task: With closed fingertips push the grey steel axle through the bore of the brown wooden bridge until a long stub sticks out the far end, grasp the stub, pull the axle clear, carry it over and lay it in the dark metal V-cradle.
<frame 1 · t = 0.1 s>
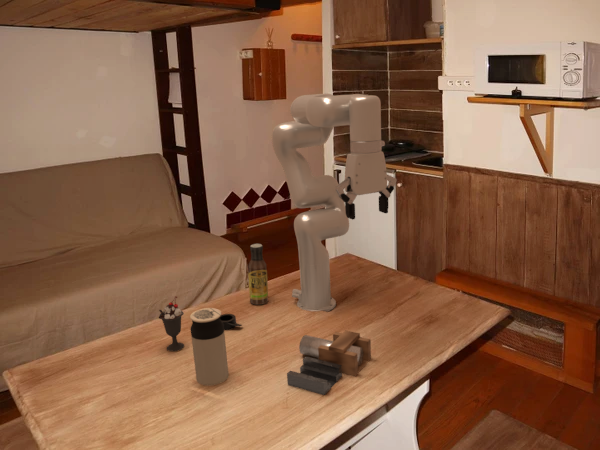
hand: (367, 215, 136), 37 cm above the table, fingers open, 9 cm apart
axle: (331, 359, 139), point 1 cm above the table, touching brown wooden bridge
sauce bottle: (259, 302, 180), on the table
travel mug: (213, 380, 135), on the table
v block: (315, 384, 130), on the table
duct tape: (227, 327, 164), on the table
brown wooden bridge: (345, 366, 137), on the table
sundae: (175, 347, 153), on the table
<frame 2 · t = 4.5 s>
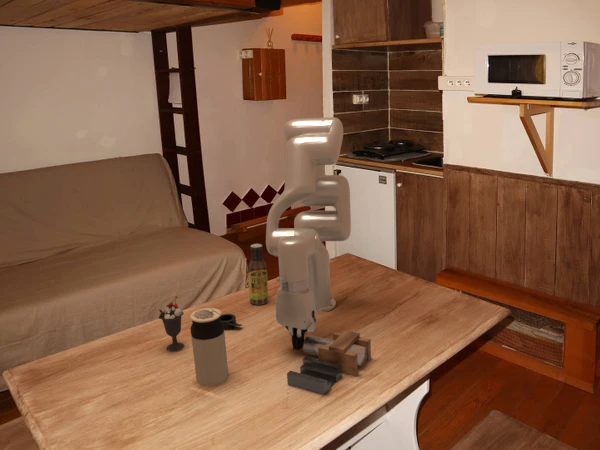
hand: (298, 347, 144), 2 cm above the table, fingers closed
axle: (334, 359, 139), point 1 cm above the table, tilted 17°, touching gripper
everything else where it was.
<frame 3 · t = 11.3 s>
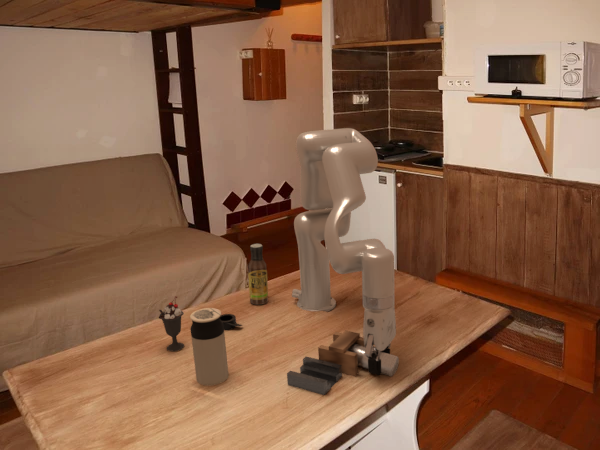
hand: (379, 366, 133), 2 cm above the table, fingers closed on axle, 5 cm apart
axle: (363, 366, 135), point 1 cm above the table, tilted 16°, touching brown wooden bridge, gripper
everything else where it was.
when the fingers open (4 cm above the table, at t = 18.6 s): axle drops 2 cm, resting on v block.
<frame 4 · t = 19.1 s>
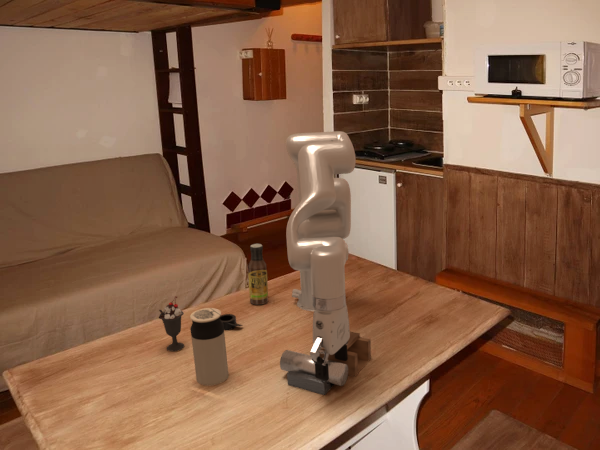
hand: (332, 368, 126), 6 cm above the table, fingers open, 9 cm apart
axle: (313, 377, 129), point 2 cm above the table, tilted 11°, touching v block
everything else where it was.
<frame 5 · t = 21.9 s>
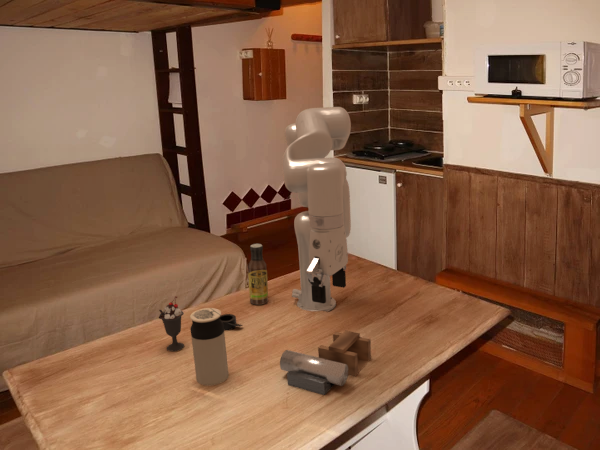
hand: (329, 294, 121), 24 cm above the table, fingers open, 9 cm apart
nothing on the table moved.
at the end: axle inside the target area on the v block (0.5 cm from its centre), point 2.0 cm above the v block's base; the gripper is holding nothing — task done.
